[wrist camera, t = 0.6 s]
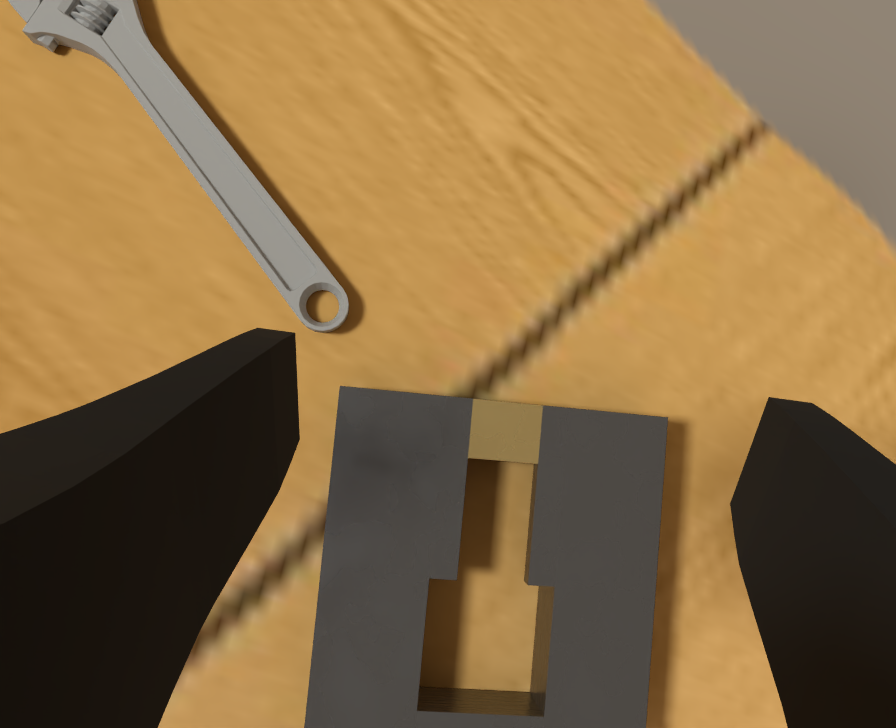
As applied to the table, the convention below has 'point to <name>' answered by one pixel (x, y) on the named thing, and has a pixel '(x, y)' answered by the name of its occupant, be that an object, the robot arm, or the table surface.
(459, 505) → the keyhole plate
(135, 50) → the adjustable wrench
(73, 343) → the table surface
